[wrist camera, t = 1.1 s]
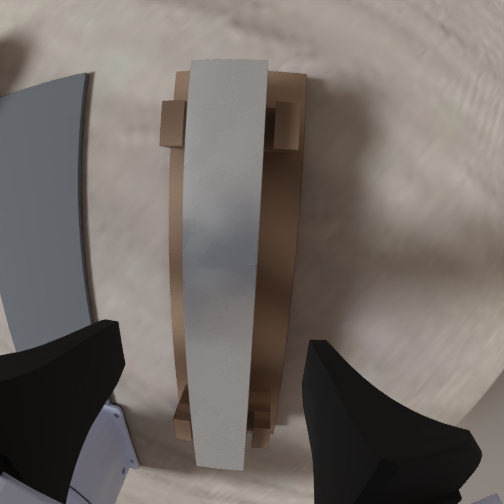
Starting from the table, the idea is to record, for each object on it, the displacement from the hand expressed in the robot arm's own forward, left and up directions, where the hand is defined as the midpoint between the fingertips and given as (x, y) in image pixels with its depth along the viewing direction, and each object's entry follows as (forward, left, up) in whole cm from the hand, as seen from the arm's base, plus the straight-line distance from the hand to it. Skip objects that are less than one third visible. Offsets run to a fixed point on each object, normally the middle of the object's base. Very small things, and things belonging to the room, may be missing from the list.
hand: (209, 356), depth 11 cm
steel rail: (0, 0, -5) cm, 5 cm away
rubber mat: (-1, +15, -8) cm, 17 cm away
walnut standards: (0, 0, -8) cm, 8 cm away
